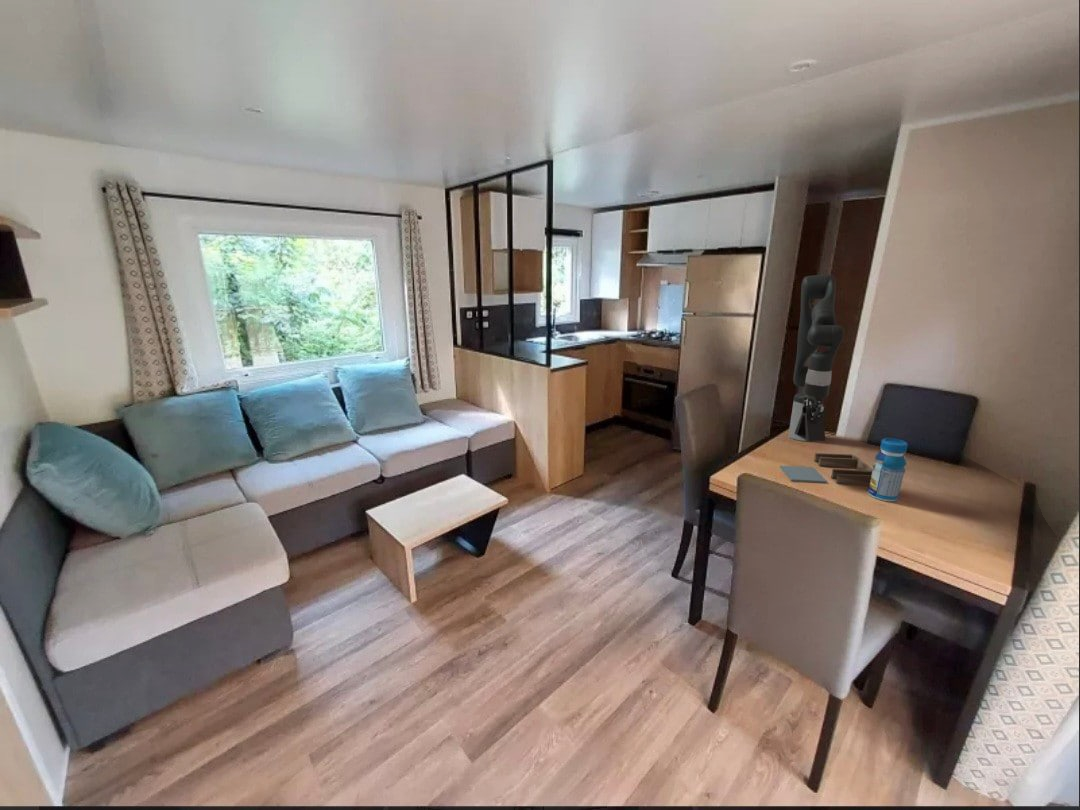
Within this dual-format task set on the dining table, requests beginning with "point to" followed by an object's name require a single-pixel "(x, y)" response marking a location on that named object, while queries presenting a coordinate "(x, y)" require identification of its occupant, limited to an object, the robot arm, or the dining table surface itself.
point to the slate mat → (803, 474)
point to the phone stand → (810, 427)
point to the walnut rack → (849, 461)
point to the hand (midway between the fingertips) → (810, 427)
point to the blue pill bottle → (888, 470)
